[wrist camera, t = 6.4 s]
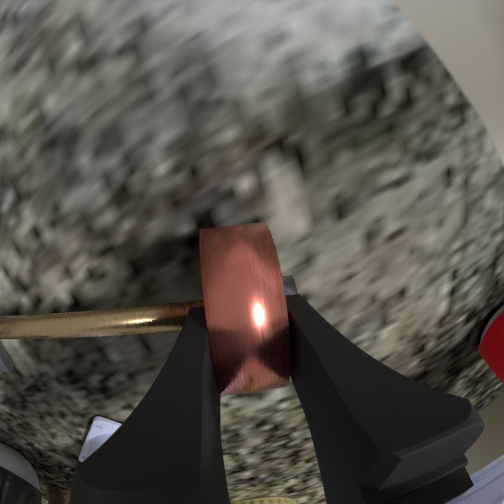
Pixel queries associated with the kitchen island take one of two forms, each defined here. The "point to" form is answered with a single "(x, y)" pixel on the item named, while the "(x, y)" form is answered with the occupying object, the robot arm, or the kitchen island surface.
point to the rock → (56, 495)
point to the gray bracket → (5, 361)
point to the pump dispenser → (17, 479)
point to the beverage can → (494, 344)
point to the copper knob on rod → (216, 309)
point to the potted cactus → (267, 501)
